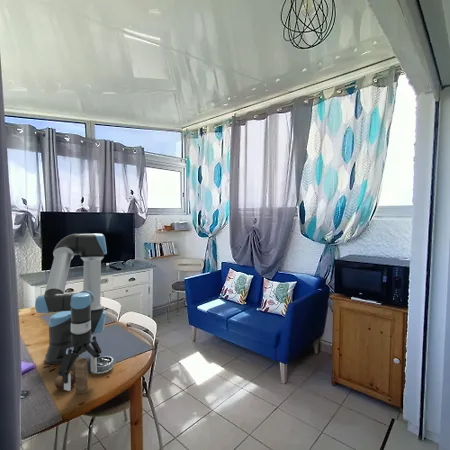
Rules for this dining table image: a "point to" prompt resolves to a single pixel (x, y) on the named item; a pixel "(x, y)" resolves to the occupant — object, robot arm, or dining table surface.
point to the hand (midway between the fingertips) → (81, 380)
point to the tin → (104, 364)
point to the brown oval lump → (59, 381)
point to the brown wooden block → (81, 375)
